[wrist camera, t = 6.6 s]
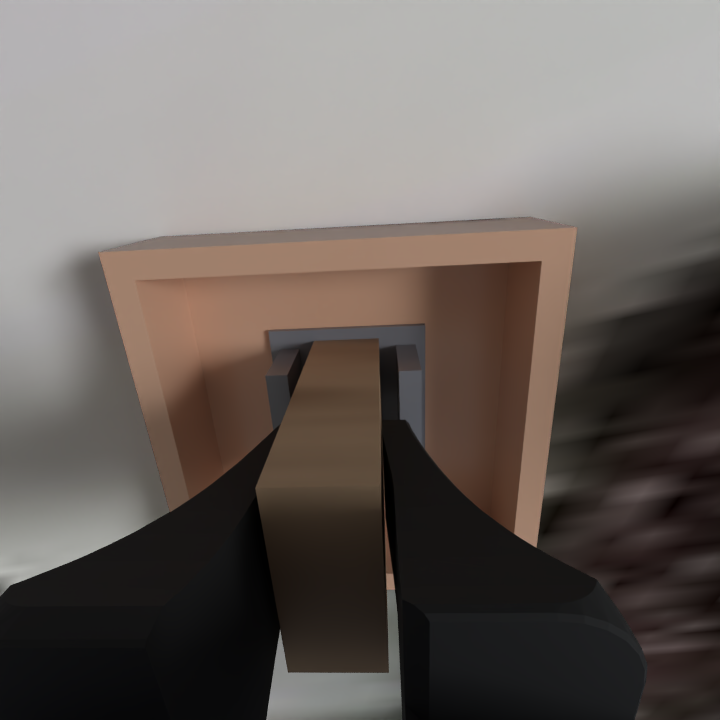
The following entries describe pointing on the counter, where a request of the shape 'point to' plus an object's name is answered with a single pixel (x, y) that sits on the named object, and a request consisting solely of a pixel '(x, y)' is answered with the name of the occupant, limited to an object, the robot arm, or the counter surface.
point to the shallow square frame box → (354, 321)
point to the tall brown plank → (330, 514)
